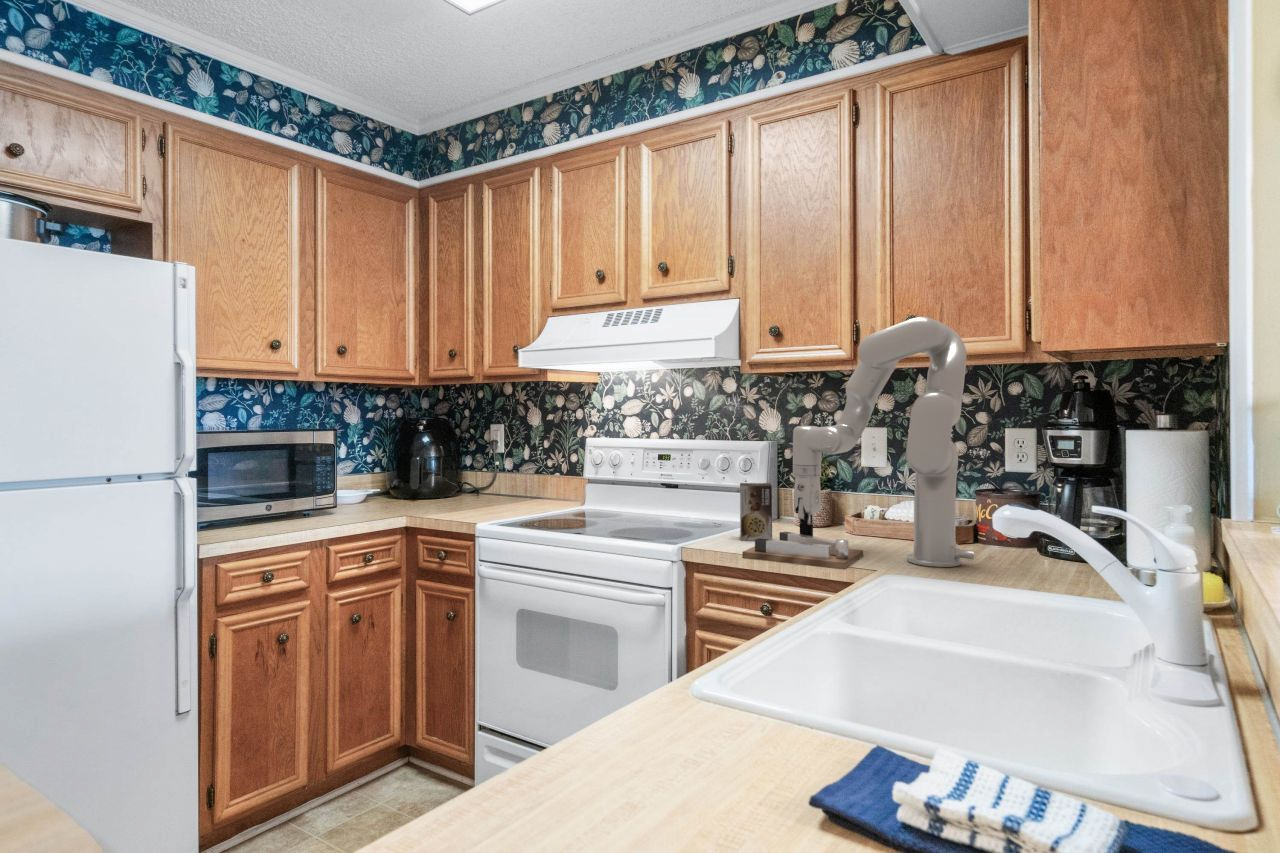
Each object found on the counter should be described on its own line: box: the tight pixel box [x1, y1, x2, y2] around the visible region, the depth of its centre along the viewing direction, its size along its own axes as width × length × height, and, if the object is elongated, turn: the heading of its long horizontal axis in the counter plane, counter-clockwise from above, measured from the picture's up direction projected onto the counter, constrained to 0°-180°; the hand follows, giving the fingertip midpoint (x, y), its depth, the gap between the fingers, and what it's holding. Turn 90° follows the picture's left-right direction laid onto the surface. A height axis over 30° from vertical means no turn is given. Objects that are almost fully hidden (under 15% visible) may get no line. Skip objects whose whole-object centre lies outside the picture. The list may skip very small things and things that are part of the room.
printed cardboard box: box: [739, 482, 773, 542], centre depth 217 cm, size 9×6×16 cm
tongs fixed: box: [754, 538, 849, 560], centre depth 187 cm, size 23×4×4 cm, turn 60°
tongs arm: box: [779, 531, 836, 555], centre depth 193 cm, size 19×2×3 cm, turn 35°
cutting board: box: [741, 546, 864, 570], centre depth 191 cm, size 26×18×2 cm
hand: (806, 538), depth 203 cm, fingers closed
